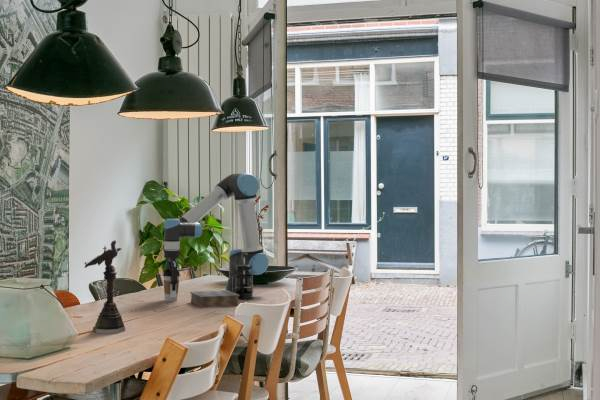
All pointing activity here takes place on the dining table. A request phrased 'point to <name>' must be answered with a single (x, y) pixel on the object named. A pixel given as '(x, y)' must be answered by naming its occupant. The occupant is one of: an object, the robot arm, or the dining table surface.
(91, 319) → the dining table surface
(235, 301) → the walnut stand
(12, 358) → the dining table surface
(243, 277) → the french press
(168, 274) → the coffee cup
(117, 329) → the bird statue
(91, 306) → the dining table surface
